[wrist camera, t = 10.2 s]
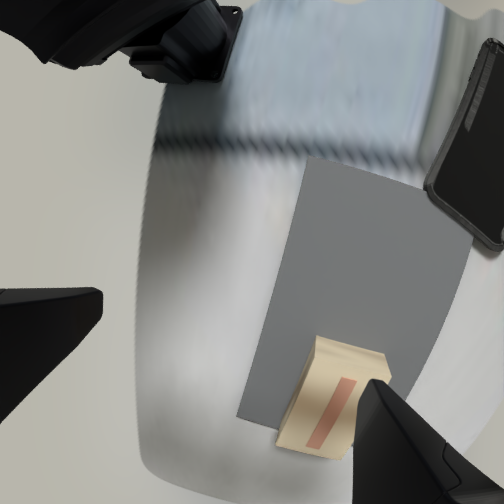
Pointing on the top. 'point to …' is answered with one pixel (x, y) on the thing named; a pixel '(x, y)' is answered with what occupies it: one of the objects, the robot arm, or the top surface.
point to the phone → (475, 153)
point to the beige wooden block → (329, 398)
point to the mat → (356, 281)
